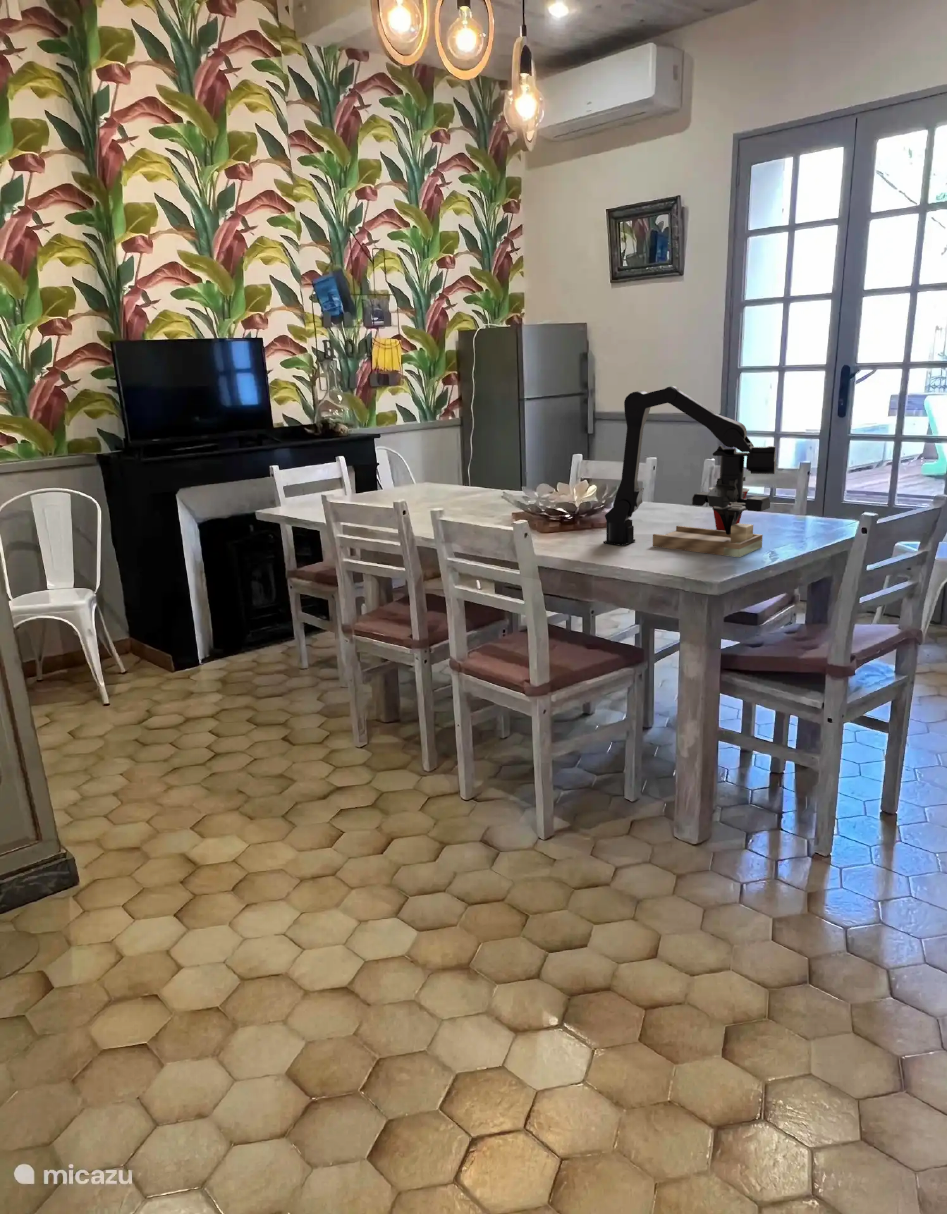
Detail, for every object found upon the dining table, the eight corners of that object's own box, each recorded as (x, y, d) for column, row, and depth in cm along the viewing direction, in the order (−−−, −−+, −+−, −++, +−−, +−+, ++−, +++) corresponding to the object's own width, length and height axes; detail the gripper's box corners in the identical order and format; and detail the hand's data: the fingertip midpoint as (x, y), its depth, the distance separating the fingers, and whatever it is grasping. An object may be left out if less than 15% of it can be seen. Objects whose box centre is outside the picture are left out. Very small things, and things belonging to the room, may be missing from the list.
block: (730, 541, 211) (731, 525, 210) (737, 538, 214) (738, 523, 212) (745, 543, 208) (746, 527, 207) (752, 540, 211) (753, 524, 210)
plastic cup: (753, 528, 234) (755, 485, 231) (737, 535, 227) (739, 491, 223) (717, 524, 241) (719, 483, 238) (700, 531, 233) (701, 488, 230)
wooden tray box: (652, 546, 219) (652, 534, 218) (677, 537, 228) (677, 525, 227) (739, 557, 203) (739, 544, 202) (761, 547, 212) (762, 534, 211)
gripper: (682, 475, 209) (680, 536, 213) (753, 480, 197) (749, 545, 201) (703, 469, 217) (700, 528, 221) (773, 474, 204) (768, 536, 209)
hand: (728, 534), depth 213 cm, fingers closed
